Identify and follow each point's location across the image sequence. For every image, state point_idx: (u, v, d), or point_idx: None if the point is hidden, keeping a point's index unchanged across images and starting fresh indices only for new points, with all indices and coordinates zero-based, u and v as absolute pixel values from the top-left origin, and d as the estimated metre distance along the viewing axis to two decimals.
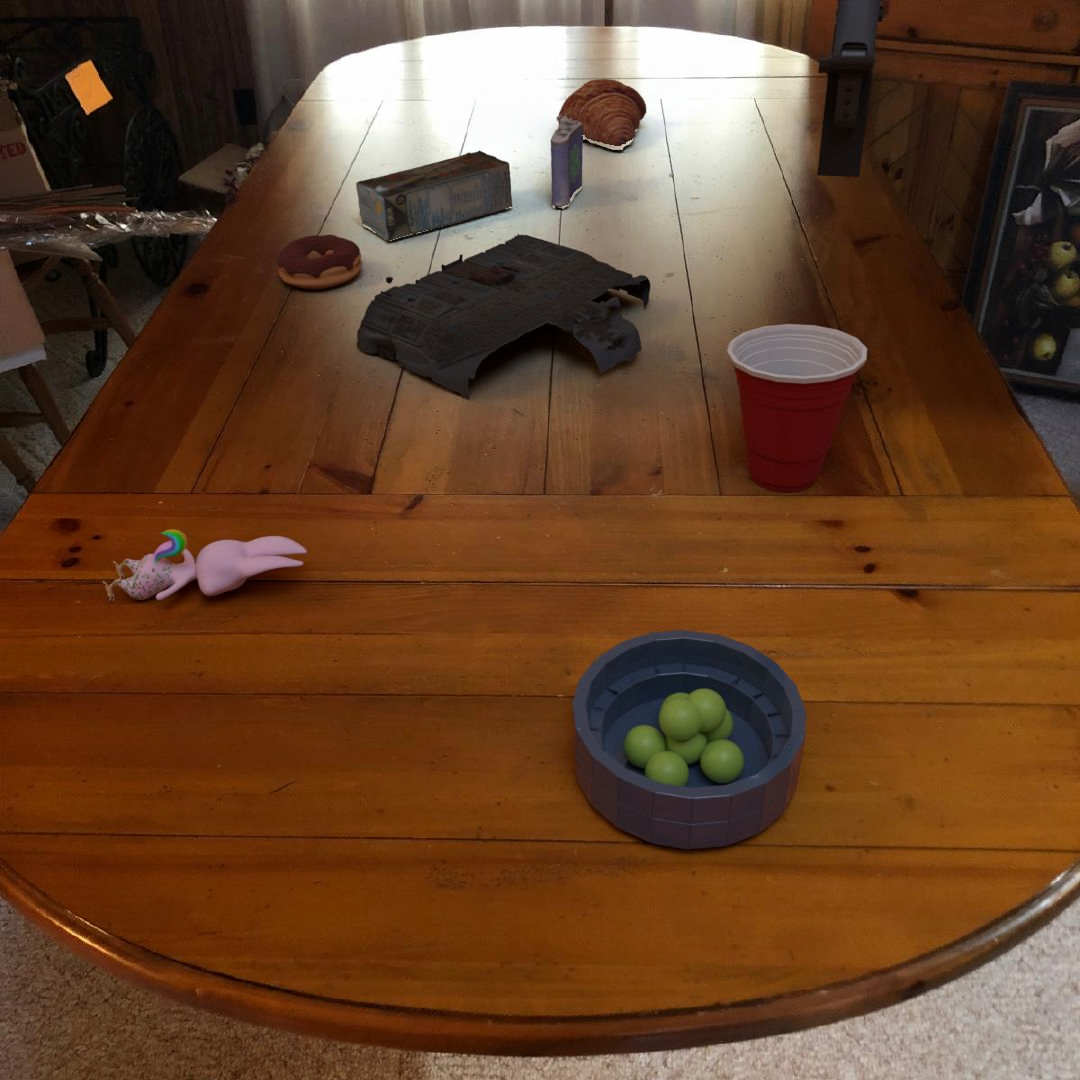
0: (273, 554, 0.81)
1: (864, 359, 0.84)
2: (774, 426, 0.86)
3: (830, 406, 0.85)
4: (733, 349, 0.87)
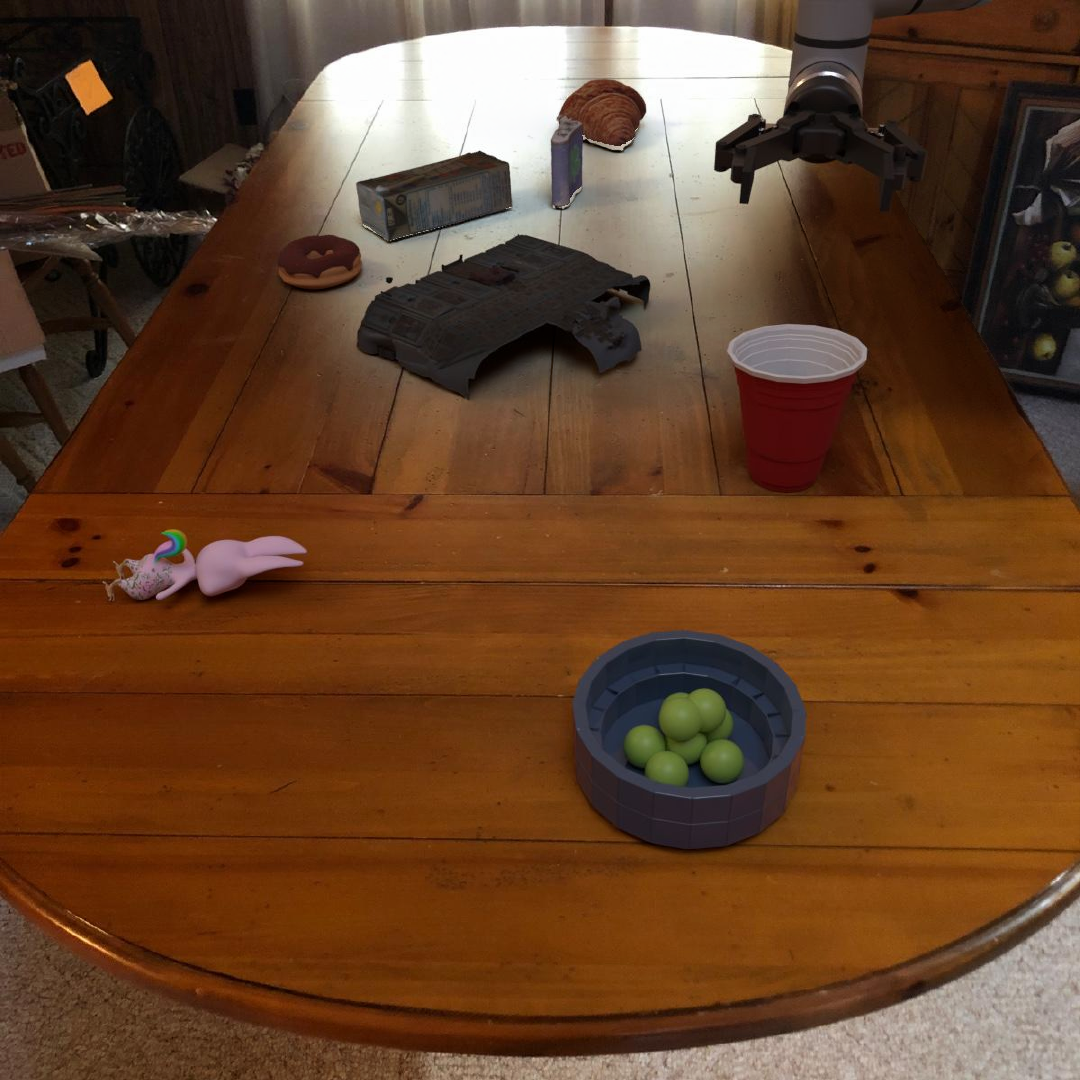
0: (273, 554, 0.81)
1: (864, 359, 0.84)
2: (774, 426, 0.86)
3: (830, 406, 0.85)
4: (733, 349, 0.87)
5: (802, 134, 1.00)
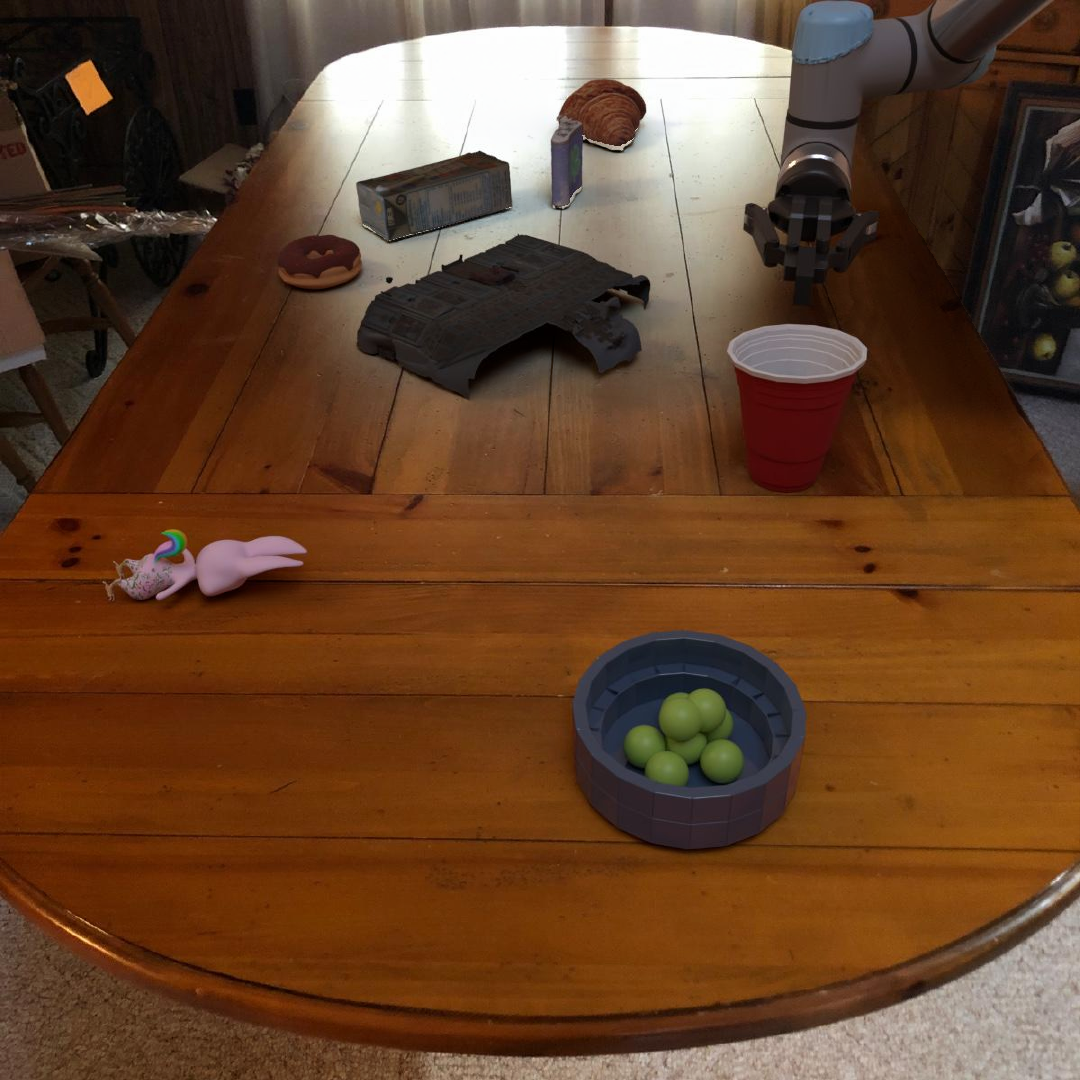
0: (273, 554, 0.81)
1: (864, 359, 0.84)
2: (774, 426, 0.86)
3: (830, 406, 0.85)
4: (733, 349, 0.87)
5: None
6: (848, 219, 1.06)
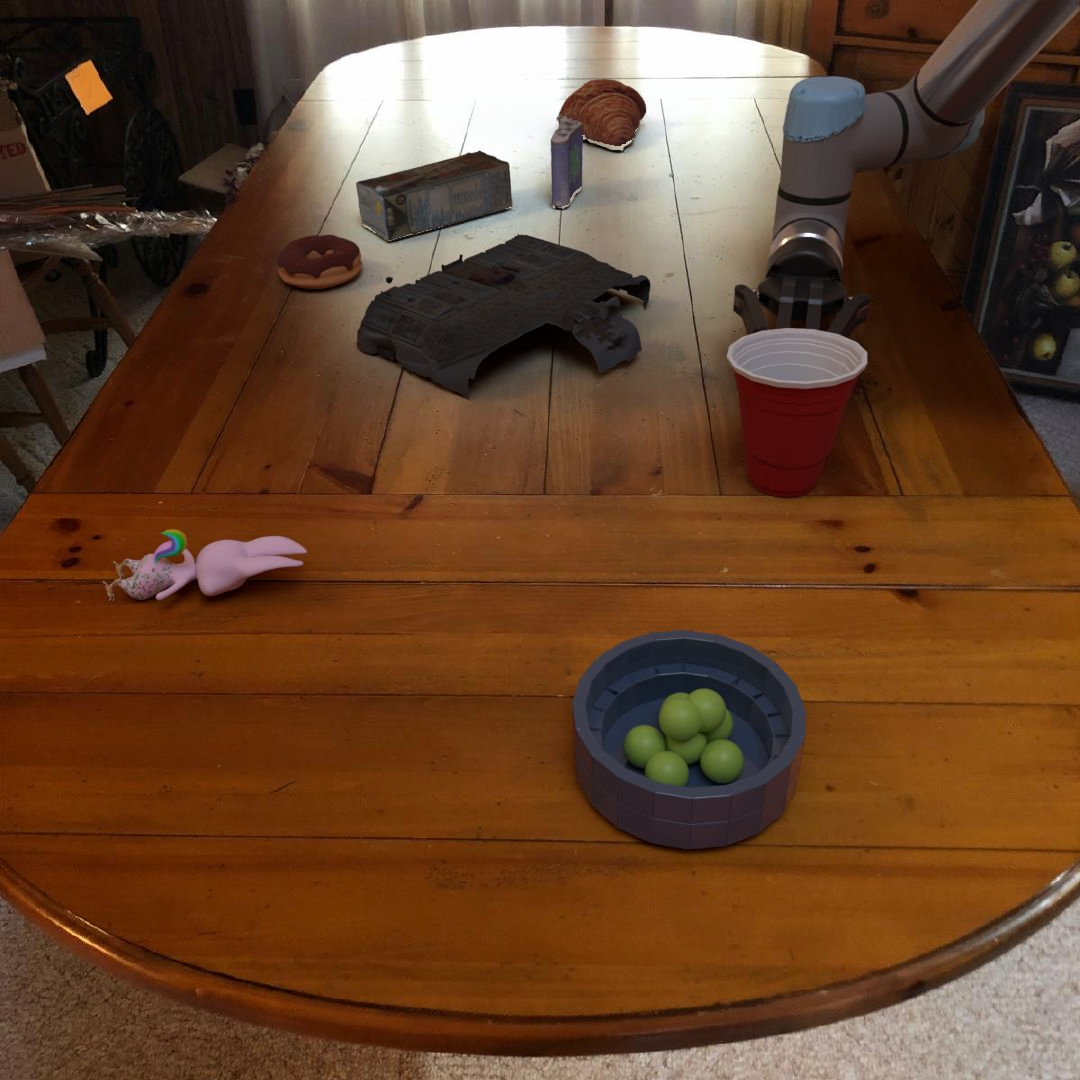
0: (273, 554, 0.81)
1: (865, 363, 0.84)
2: (774, 431, 0.86)
3: (831, 411, 0.85)
4: (732, 354, 0.87)
5: None
6: (839, 301, 1.05)
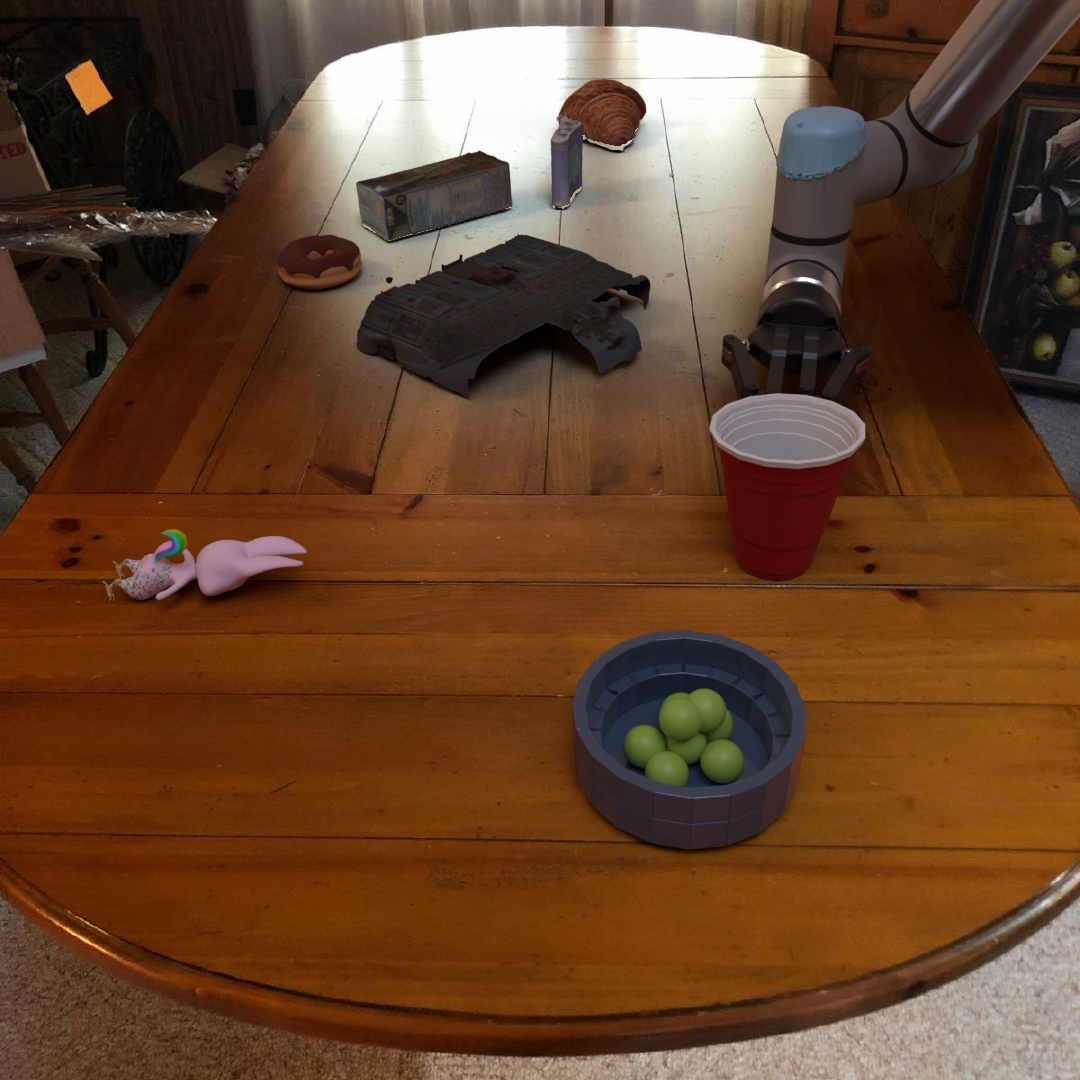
0: (273, 554, 0.81)
1: (863, 438, 0.75)
2: (763, 512, 0.77)
3: (825, 491, 0.76)
4: (716, 425, 0.78)
5: None
6: (837, 354, 0.96)
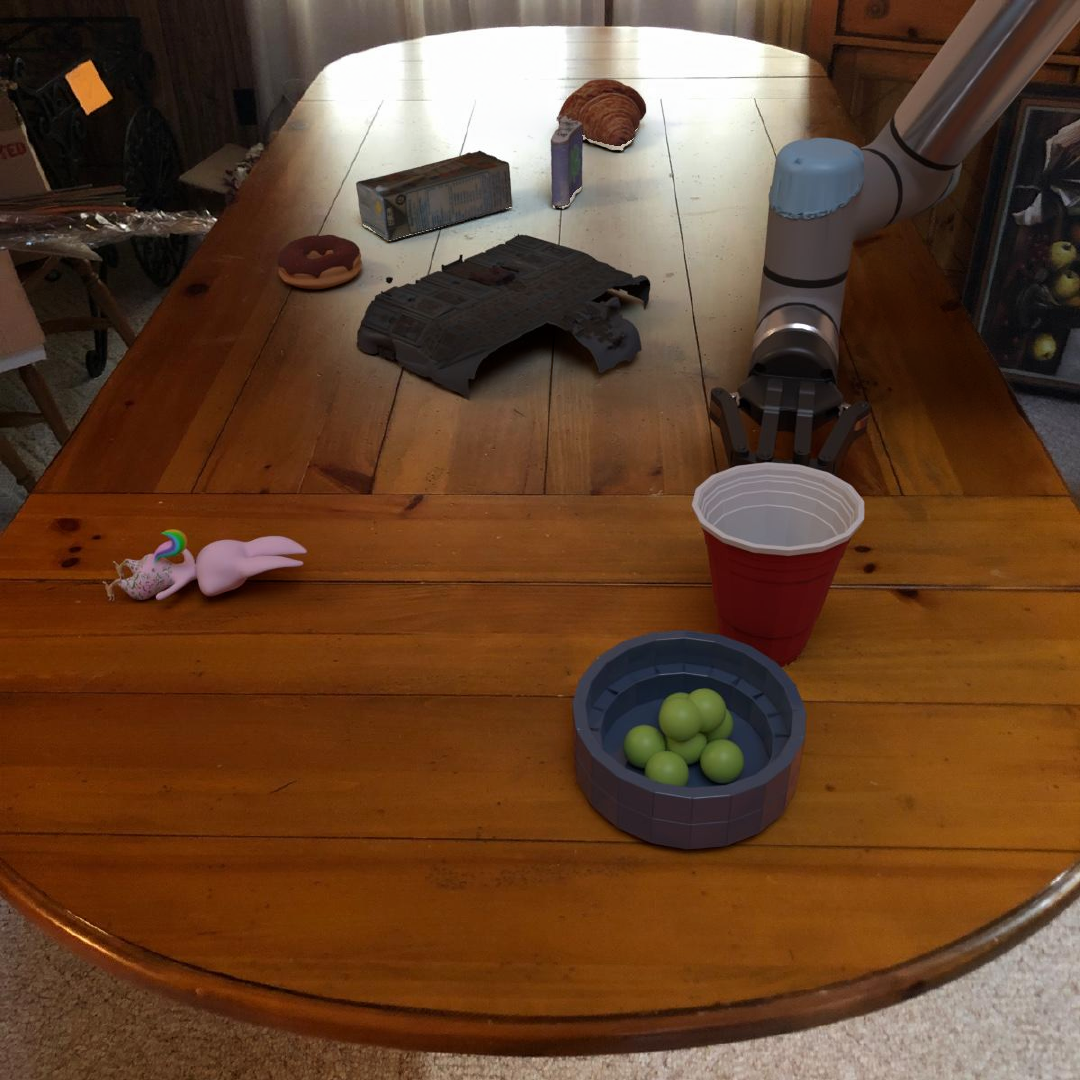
0: (273, 554, 0.81)
1: (861, 519, 0.68)
2: (750, 598, 0.70)
3: (819, 576, 0.69)
4: (699, 501, 0.71)
5: None
6: (834, 409, 0.89)
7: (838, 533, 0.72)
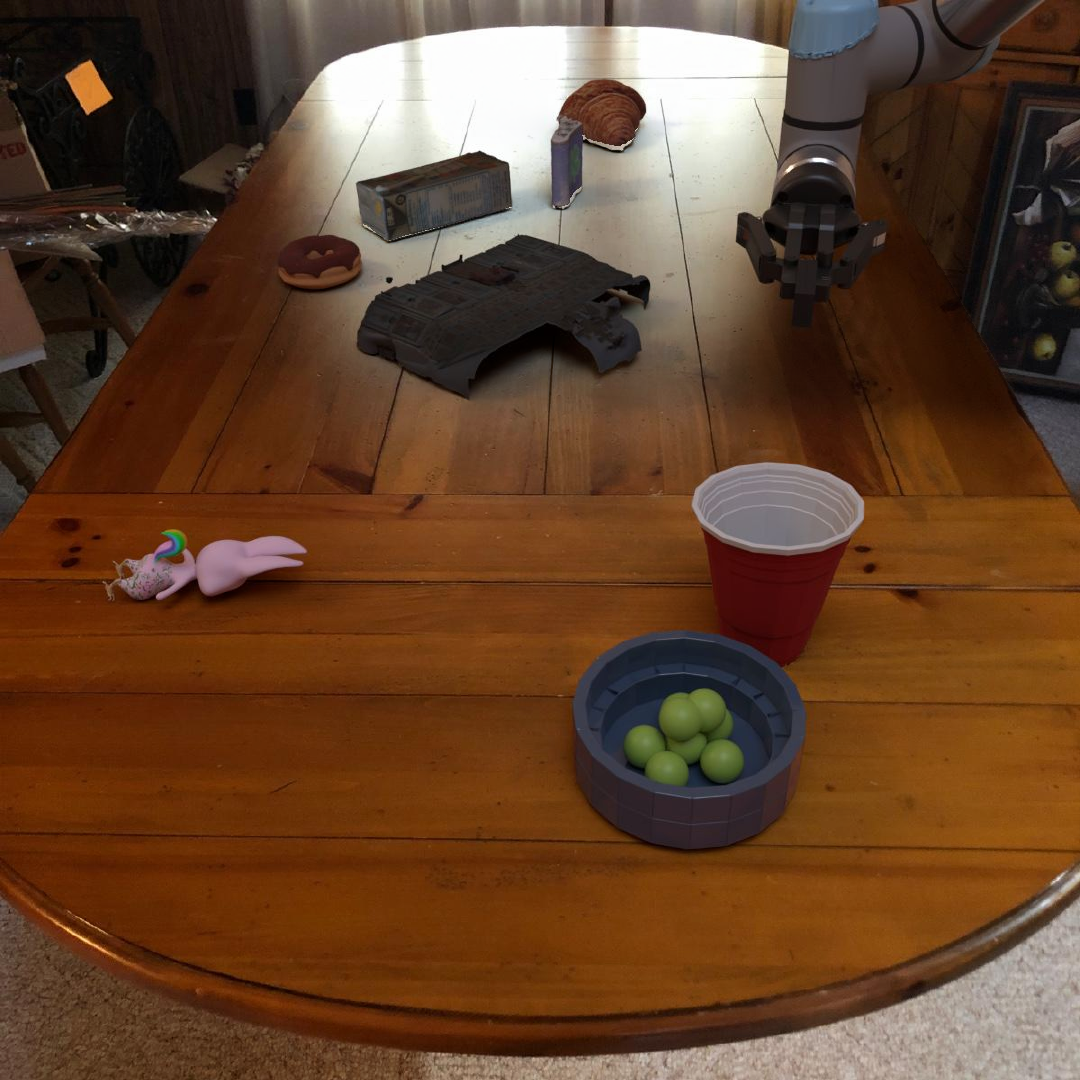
0: (273, 554, 0.81)
1: (861, 519, 0.68)
2: (750, 598, 0.70)
3: (819, 576, 0.69)
4: (699, 501, 0.71)
5: None
6: (853, 229, 0.95)
7: (838, 533, 0.72)
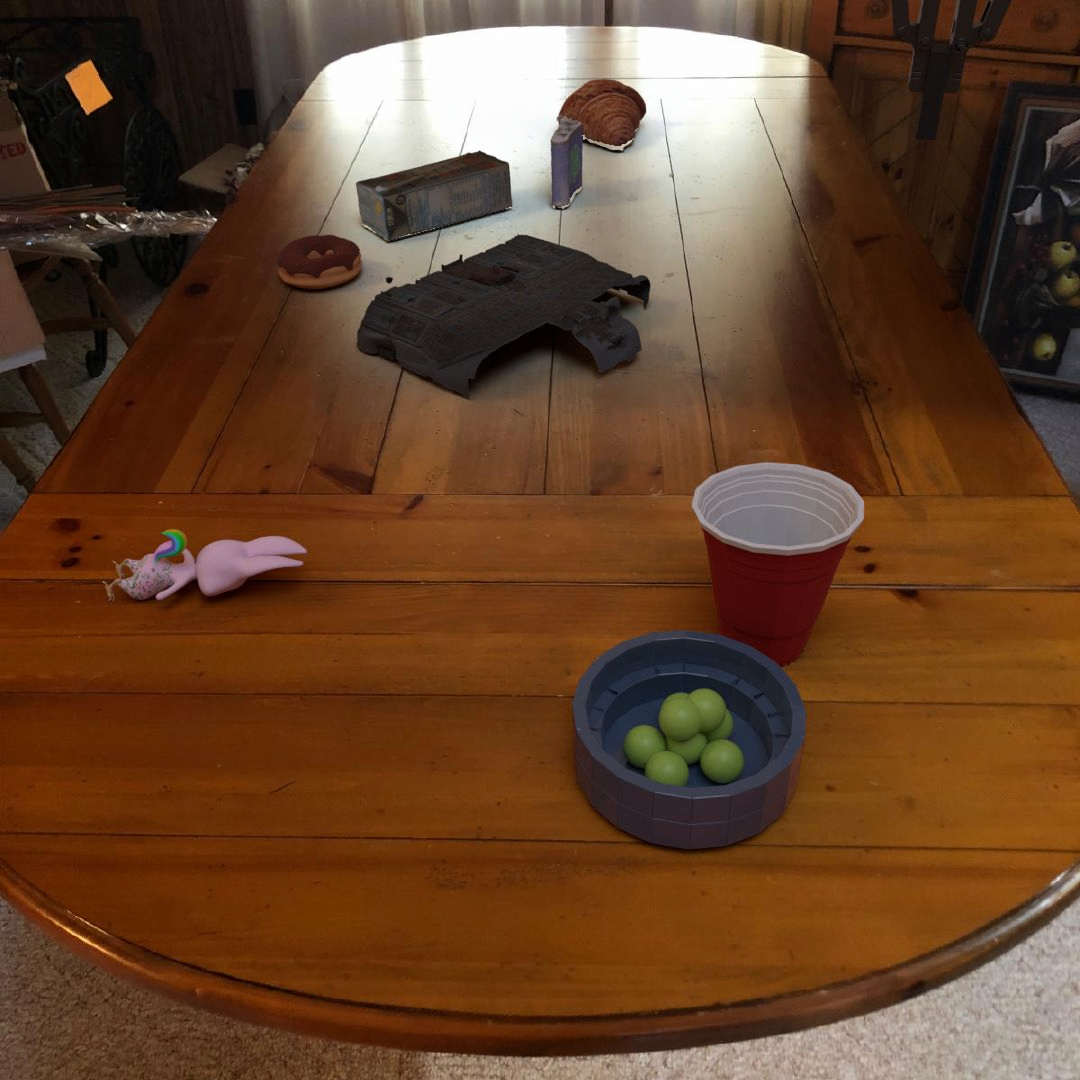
0: (273, 554, 0.81)
1: (861, 519, 0.68)
2: (750, 598, 0.70)
3: (819, 576, 0.69)
4: (699, 501, 0.71)
5: None
6: None
7: (838, 533, 0.72)
